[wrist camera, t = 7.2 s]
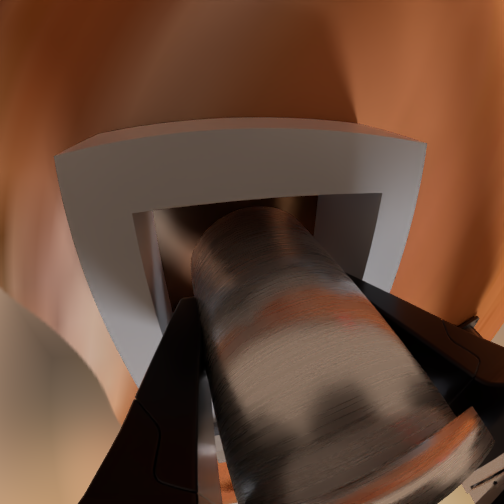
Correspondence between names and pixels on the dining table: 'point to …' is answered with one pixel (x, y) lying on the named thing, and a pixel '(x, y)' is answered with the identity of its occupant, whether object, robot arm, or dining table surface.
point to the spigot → (317, 377)
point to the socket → (225, 190)
